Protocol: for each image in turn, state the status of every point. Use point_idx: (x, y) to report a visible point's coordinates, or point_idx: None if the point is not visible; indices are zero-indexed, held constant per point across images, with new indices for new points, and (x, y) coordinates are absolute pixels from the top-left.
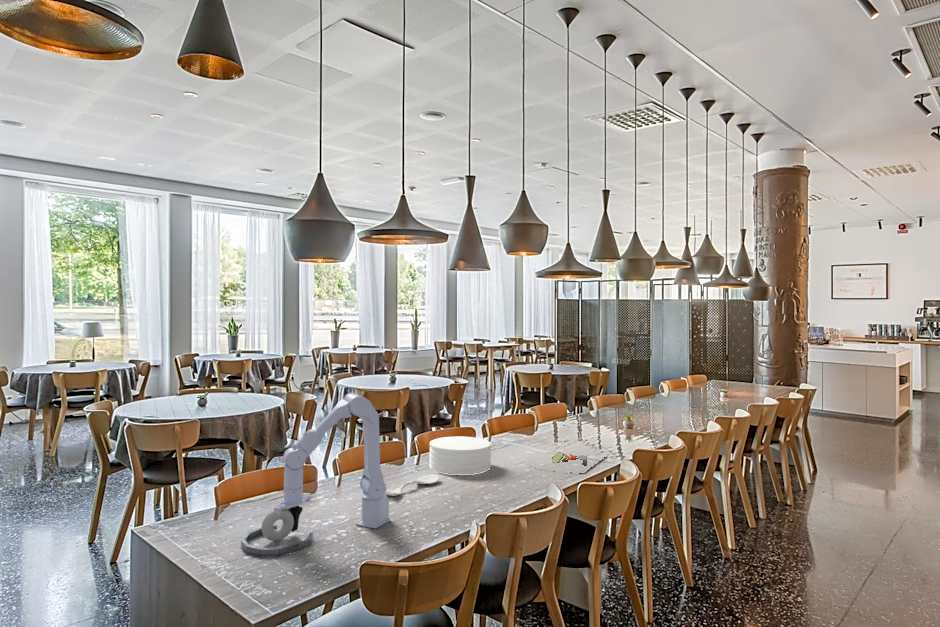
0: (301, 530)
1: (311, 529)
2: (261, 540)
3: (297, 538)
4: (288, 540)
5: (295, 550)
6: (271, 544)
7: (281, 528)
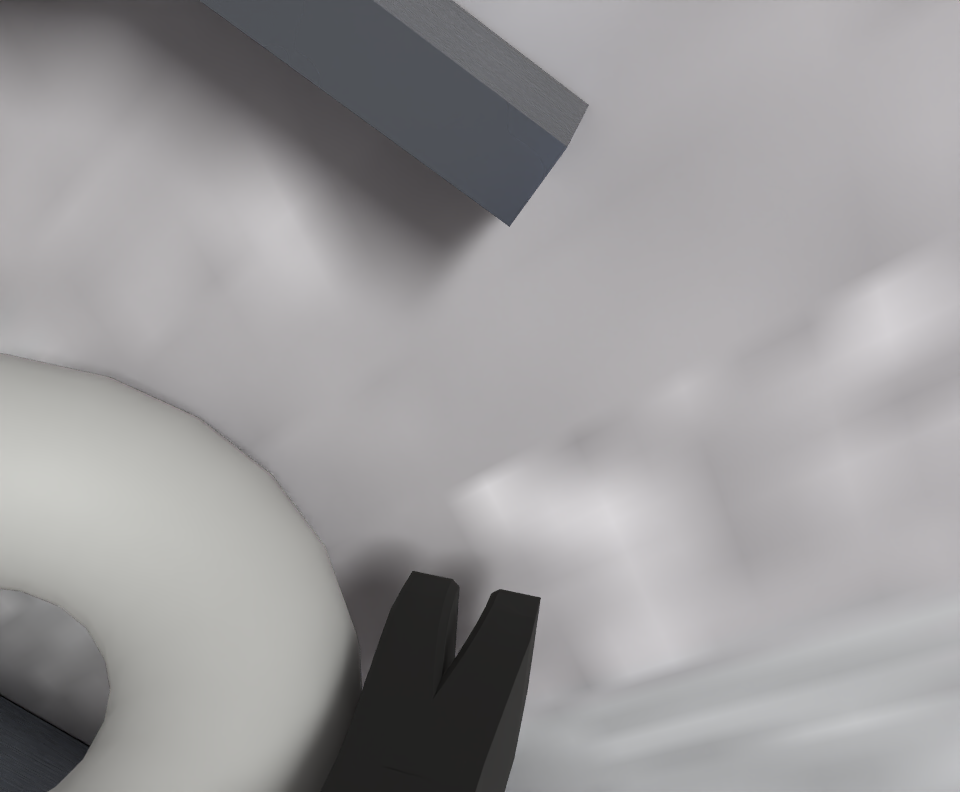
0: (793, 589)
1: (892, 712)
2: (21, 160)
3: None
4: None
5: None
6: None
7: (106, 651)
